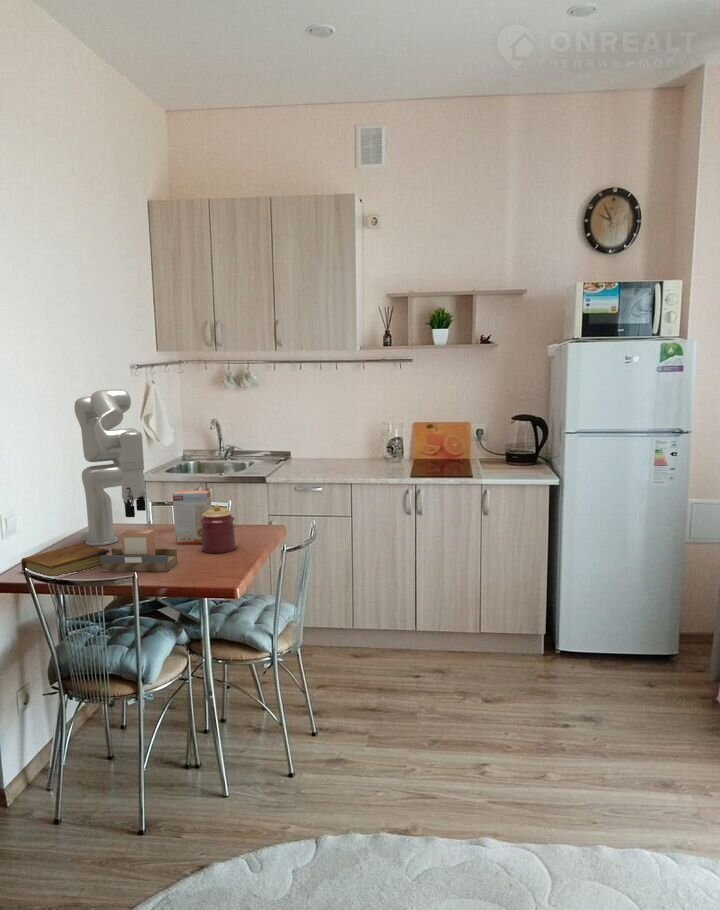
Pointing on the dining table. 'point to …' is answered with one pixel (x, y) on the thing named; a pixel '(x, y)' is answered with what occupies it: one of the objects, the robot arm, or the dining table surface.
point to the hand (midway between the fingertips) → (135, 513)
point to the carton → (138, 542)
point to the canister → (218, 530)
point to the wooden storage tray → (140, 561)
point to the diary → (65, 560)
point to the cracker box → (190, 515)
